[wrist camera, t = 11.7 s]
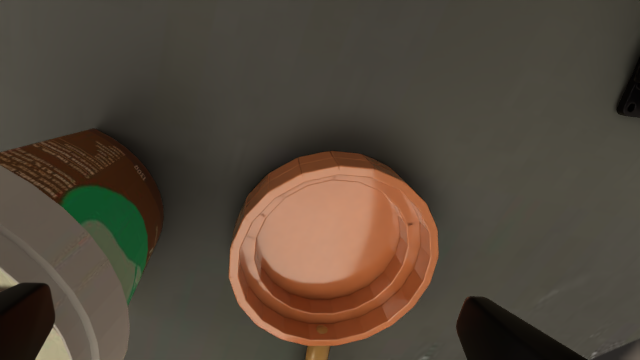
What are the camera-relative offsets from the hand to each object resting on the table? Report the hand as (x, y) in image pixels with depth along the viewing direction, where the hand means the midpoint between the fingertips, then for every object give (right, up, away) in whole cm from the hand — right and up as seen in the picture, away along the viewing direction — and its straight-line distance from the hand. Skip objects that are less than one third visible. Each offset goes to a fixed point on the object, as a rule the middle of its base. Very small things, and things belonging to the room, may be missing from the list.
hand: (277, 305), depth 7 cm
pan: (+2, -1, +13) cm, 13 cm away
